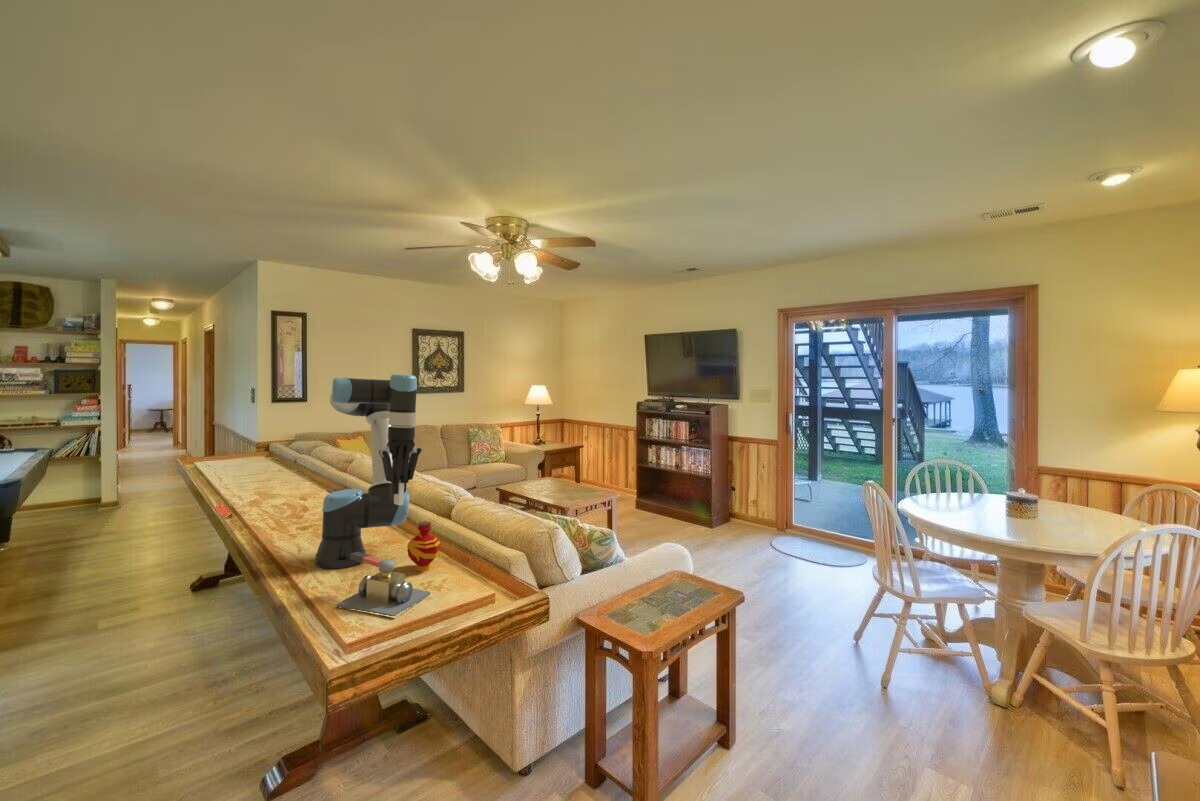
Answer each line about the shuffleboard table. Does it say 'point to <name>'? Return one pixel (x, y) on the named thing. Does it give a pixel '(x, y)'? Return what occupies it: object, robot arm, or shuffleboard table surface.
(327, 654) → the shuffleboard table surface
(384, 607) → the slate board
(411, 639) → the shuffleboard table surface
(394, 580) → the valve body
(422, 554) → the potion bottle
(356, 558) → the lever
